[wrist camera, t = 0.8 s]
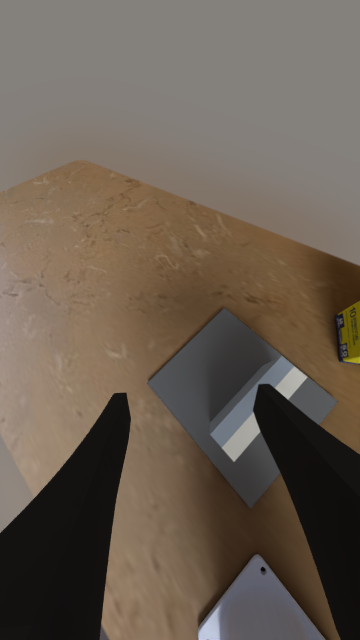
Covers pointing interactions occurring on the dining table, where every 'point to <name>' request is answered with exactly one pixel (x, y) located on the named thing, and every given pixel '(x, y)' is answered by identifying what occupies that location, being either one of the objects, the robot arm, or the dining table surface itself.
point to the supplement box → (349, 334)
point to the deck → (238, 417)
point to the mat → (228, 397)
